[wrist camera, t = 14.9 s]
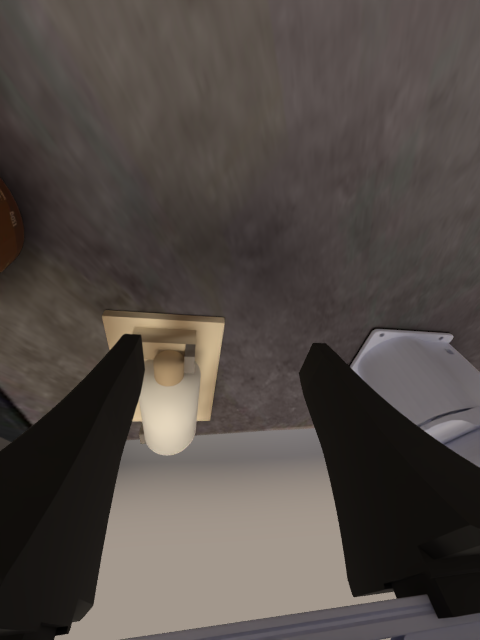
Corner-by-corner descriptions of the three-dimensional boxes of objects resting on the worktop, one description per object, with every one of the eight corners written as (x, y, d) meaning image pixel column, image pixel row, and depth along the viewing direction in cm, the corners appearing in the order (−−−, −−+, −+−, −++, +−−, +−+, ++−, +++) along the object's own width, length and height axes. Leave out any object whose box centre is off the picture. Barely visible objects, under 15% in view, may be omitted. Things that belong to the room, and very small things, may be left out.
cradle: (224, 317, 23) (226, 349, 20) (209, 414, 32) (209, 446, 29) (105, 310, 21) (87, 343, 18) (127, 415, 31) (118, 448, 28)
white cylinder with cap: (185, 332, 23) (213, 372, 20) (183, 408, 30) (203, 446, 27) (125, 349, 20) (146, 398, 17) (139, 428, 28) (155, 473, 25)
